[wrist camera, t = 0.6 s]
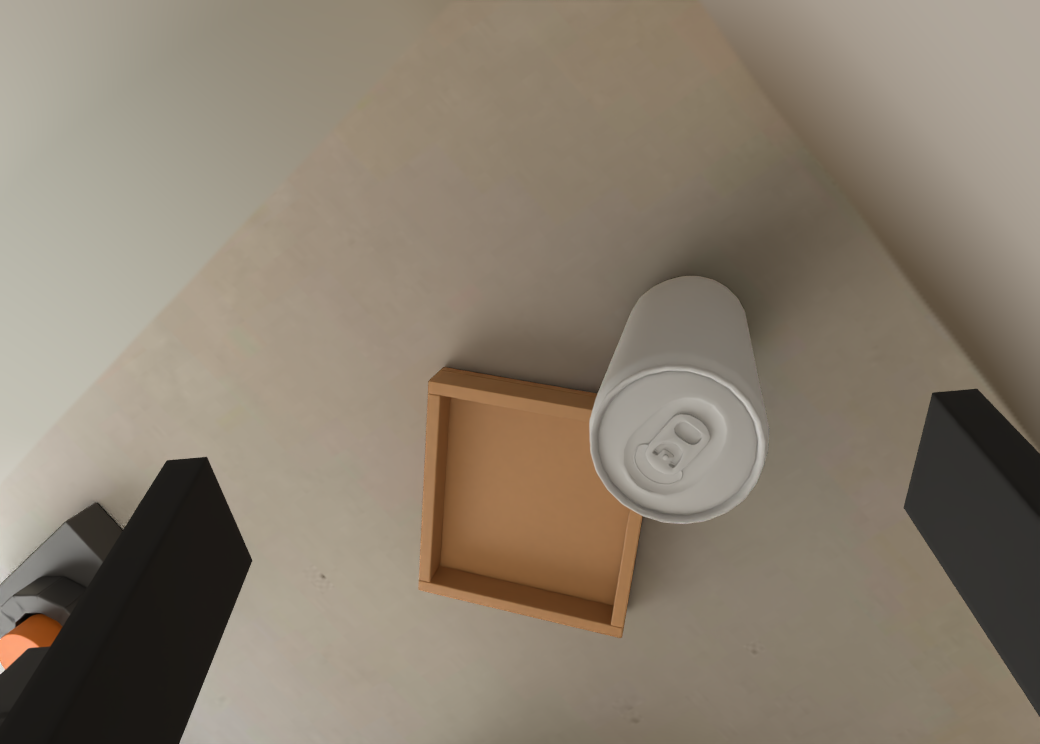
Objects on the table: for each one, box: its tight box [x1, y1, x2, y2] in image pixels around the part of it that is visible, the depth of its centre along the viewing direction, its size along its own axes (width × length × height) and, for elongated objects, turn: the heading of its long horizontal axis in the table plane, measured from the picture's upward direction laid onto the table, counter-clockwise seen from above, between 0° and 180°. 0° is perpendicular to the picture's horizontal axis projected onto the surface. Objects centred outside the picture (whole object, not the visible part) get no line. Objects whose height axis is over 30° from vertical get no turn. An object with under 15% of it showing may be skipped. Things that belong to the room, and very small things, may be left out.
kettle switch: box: [0, 614, 62, 670], centre depth 40 cm, size 4×4×2 cm
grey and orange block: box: [0, 503, 122, 639], centre depth 42 cm, size 11×9×4 cm
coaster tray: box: [418, 367, 643, 638], centre depth 33 cm, size 11×10×2 cm
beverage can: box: [589, 276, 769, 524], centre depth 24 cm, size 5×5×12 cm
